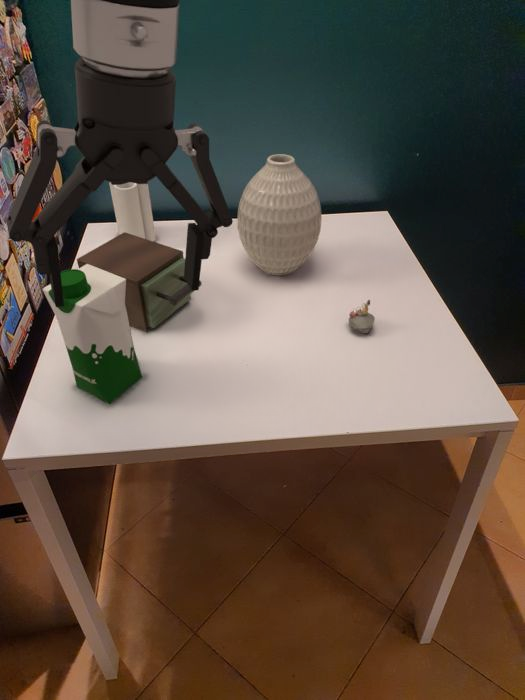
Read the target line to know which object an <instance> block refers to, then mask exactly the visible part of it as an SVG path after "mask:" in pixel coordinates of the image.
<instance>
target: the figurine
mask: <svg viewBox="0 0 525 700" xmlns="http://www.w3.org/2000/svg"><path fill="white" fill-rule="evenodd" d="M369 306H371V300H370V299H368V300H366V302H363V303H362V304H361V307H359V306H357V307H356V308H354V309H352V310H351V311H350V312H349V314H348V316H349V317H348V324H349V326H350V327H351V328H352V329H354V331H356V332H358V333H361V334H368V333H369V332H370V330H371V329H372V327H373V326H374V323H375V320H376V318H375V316H374V314H372V313H370V312H369Z"/></svg>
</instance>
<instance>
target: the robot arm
mask: <svg viewBox="0 0 525 700" xmlns="http://www.w3.org/2000/svg"><path fill="white" fill-rule="evenodd" d="M70 8H71V9H70V11H71V12H70V13H71V25H72V26H71V27H72V47H73V50H74V51H75V52H76V53H77V55H78V56H80V57H79V58H78V59H77V61H76V62H75V63H74V75H75V87H76V89H75V91H76V92H75V93H76V104H77V106H76V107H77V121H76V123H75V126H74V128H66V127H58V126H53V125H52V123H51V122H49V121H48V120H40V121H38V123H37V124H36V148H35V151H34V153H33V155H32V157H31V160H30V163H29V165H28V167H27V169H26V172H25V174H24V177H23V179H22V182H21V184H20V187H19V189H18V191H17V193H16V196H15V198H14V201H13V203H12V206H11V207H10V210H9V212H8V214H7V217H6V220H5V222H6V227H7V233H8V237H9V239H10V240H11V241H13V242H16V243H19V242H22V241H23V242H28V243H29V244H31V245H32V250H33V257H34V264H35V267H36V268H35V269H36V271H37V273H38V275H40V276H43V275H49V280H50V281H49V282H50V284H51V290H52V294H53V298H54V302H55V306H56V307H62V306H64V300H63V291H62V282H61V264H60V254H59V247H58V243H57V240H56V237H55V235H56V234H57V233H58V232H59V231H60V230H61V228H62V227H63V226H64V225H65V224H66V223H67V222H68V220H69V219H70V218H71V217H72V215H73V214H74V213H75V212H76V211H77V210H78V209H79V207H80V206H81V205H82V204H83V203H84V201H85V200H87V198H88V197H89V196H90V194H92V193H93V192H96V191H98V189H99V188H100V187H101V185H102V184H103V183H104V182H107V183H109V182H111V184H112V185H121V184H125V183H128V182H132V183H137V184H148V185H149V182H150V181H152V180H153V179H155V178H157V180H158V181H159V182H160V183H161V184H162V185H163V187H165V189H166V190H168V192H169V193H170V194H171V195H172V196H173V198H174V199H175V200H176V201H177V202H178V204H179V205H180V206H181V207H182V208H183V209H184V210H185V211H186V213H187V215H189V216H190V217H191V219H192V220H193V221H194V222H188V223H187V230H186V231H187V233H186V244H185V245H186V246H185V257H184V258H185V269H184V278H185V280H186V281H187V283H188V285H189V287H190V289H191V290H192V291H194V292H195V291H199V289H200V287H199V281H201V280H200V279H201V270H202V261H203V260H208V259H209V257H210V256H211V250H212V242H213V239H214V238H216V237H217V235H218V234H219V230H218V228H221V227H223V228H229V227H231V225H232V224H233V222H234V221H233V216H232V214H231V211H230V209H229V206H228V204H227V201H226V199H225V197H224V196H225V195H224V193H223V190H222V188H221V185H220V182H219V180H218V177H217V175H216V172H215V169H214V167H213V164H212V162H211V159H210V137H209V135H208V134H207V133H206V132H205V131H204V130H203V128H201V126H200V125H199V124H198V123H195V122H192V123H190V124H189V125H188V127H187V128H184V129H175V127H174V121H175V104H176V86H177V85H176V84H177V76H176V75H175V74H174V71H173V70H172V69H171V68H172V67H173V66H174V65H176V63H177V61H178V60H177V59H178V58H177V57H178V41H179V39H178V37H179V36H178V35H179V19H180V17H179V15H180V0H70ZM71 147H76V149H77V151H78V152H79V153H80V155H82V157H81V159H80V160H79V161H78V162H77V163H76V165H75V166H74V169H73V172H72V173H71V174H70V175H69V176H68V178H66V180H65V181H64V183H63V184H62V185H61V186H60V187H59V189H58V190H57V191H56V193H54V195H53V196H52V197H51V198H50V200H49V201H48V202H47V203H46V205H44V207H43V208H42V210H41V211H40V212H39V213H38V214H37V213H36V212H37V211H38V208H39V205H40V203H41V202H42V199H43V197H44V195H45V192H46V190H47V188H48V185H49V184H50V181H51V179H52V176H53V174H54V172H55V169H56V166H57V160H58V158H63V157H64V156H65V155H66V153H67V151H68V149H69V148H71ZM178 147H181V149H182V151H183V152H184V154H186V155H187V156H188V157H190V160H191V162H192V165H193V168H194V169H195V172H196V175H197V177H198V180H199V183H200V184H201V187H202V190H203V192H204V194H205V197H206V199H207V201H208V203H209V206H210V209H211V210H208V211H207V212H205V209H203V208H202V207H201V206H200V204H199V203H198V201H196V199H195V198H194V197H193V196H192V194H191V193H190V192H189V191H188V189H187V188H186V187H185V186H184V185H183V183H182V182H181V181H180V180H179V178H178V177H177V175H175V173H174V172H173V171H172V170H171V169H170V167H169V166H168V164H167V162H168V161H169V160H170V158H171V157H172V156H173V155H174V153H175V151H176V150H177V149H178ZM35 214H37V215H36V216H35Z"/></svg>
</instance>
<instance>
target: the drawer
mask: <svg viewBox="0 0 525 700" xmlns="http://www.w3.org/2000/svg"><path fill="white" fill-rule="evenodd" d="M184 269H185V257H184V258H180V259H179V260H177V261H176V262H174V263H172V264H170V265H169V266H167V267H166V268H164V269H163V270H161V271H160V272H158V273H157V274H155V275H154V276H152V277H151V278H150V279H148V280H147V281H145V282H144V283H142V285H141V288H142V293H143V299H144V305H145V311H146V316H147V322H148V326H149V327H151V329H155V328H156V327H157V326H158V325H160V324H161V323H163V322H164V321H165V320H166V319H167V318H168V317H170V316H172V314H173V313H175V312H176V311H178V310H179V309H180V308H181V307H183V306H184V305H185V304H186V303H188V302H189V301H190V300H191V299H192V297H191V295H192V294H193V293H194V292H195V291H192V290H191V289H190V287H189V285H188V283H187V281H186V280H185V278H184ZM201 286H202V281H201V280H200V281H199V288H200V287H201Z"/></svg>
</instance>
